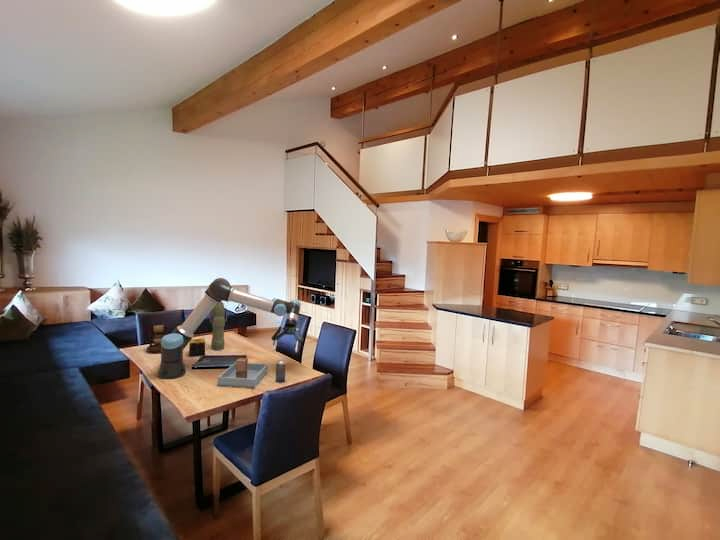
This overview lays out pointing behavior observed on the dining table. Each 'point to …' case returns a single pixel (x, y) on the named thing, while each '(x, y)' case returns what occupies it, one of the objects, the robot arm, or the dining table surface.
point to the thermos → (218, 326)
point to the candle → (197, 347)
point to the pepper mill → (280, 371)
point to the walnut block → (241, 368)
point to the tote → (253, 378)
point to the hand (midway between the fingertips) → (285, 350)
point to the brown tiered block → (156, 337)
